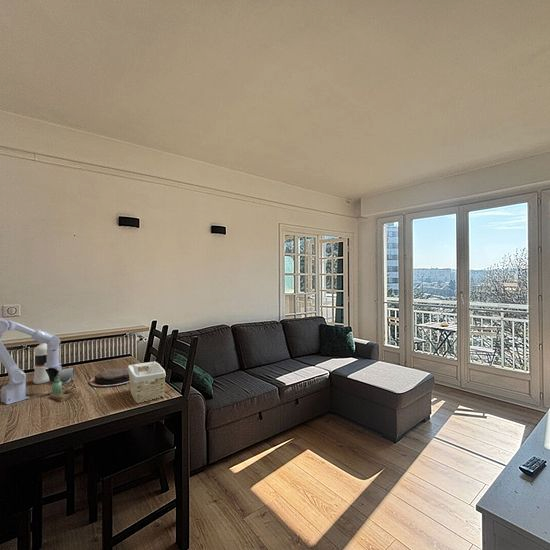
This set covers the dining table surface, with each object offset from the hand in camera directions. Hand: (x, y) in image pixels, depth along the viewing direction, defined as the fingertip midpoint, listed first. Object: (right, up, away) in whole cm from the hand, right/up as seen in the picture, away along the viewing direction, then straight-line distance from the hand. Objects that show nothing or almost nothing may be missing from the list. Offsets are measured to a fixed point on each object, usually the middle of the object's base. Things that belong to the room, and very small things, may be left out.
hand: (52, 381), depth 172 cm
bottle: (+4, -6, -2) cm, 8 cm away
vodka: (-17, -6, +16) cm, 24 cm away
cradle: (+11, -6, -6) cm, 14 cm away
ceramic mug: (-4, -6, +16) cm, 18 cm away
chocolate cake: (+24, -7, +21) cm, 33 cm away
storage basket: (+54, -7, -3) cm, 54 cm away
